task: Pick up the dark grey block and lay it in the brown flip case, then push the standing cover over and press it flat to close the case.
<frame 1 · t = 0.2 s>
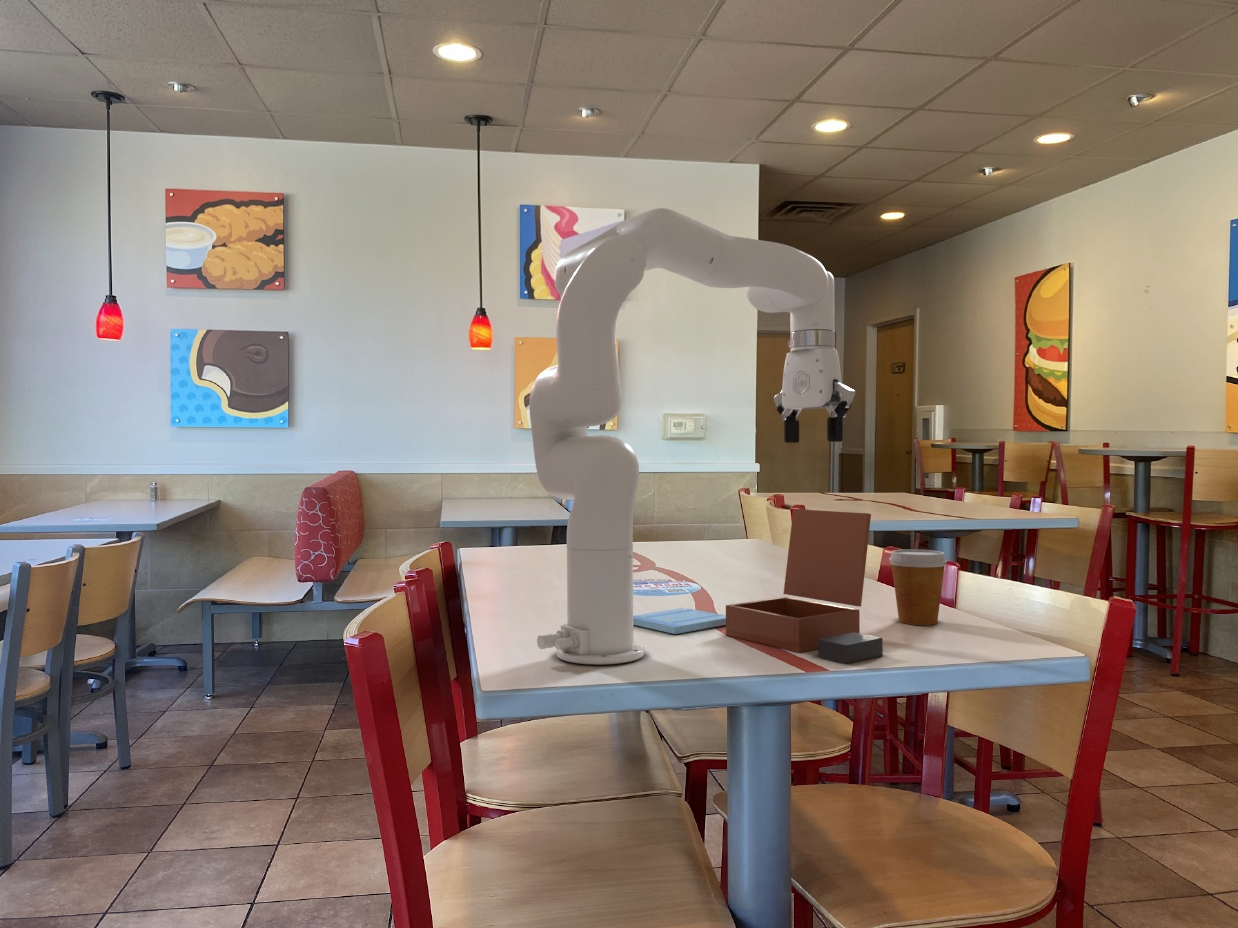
hand: (812, 442, 150), 31 cm above the table, tool pointing down, fingers open, 9 cm apart
flip case: (791, 637, 136), on the table
light blue flat block: (679, 624, 147), on the table
disposable coffee cup: (917, 622, 148), on the table
dark grey block: (850, 656, 122), on the table
cover: (825, 555, 140), point 12 cm above the table, hinge at 100.0°
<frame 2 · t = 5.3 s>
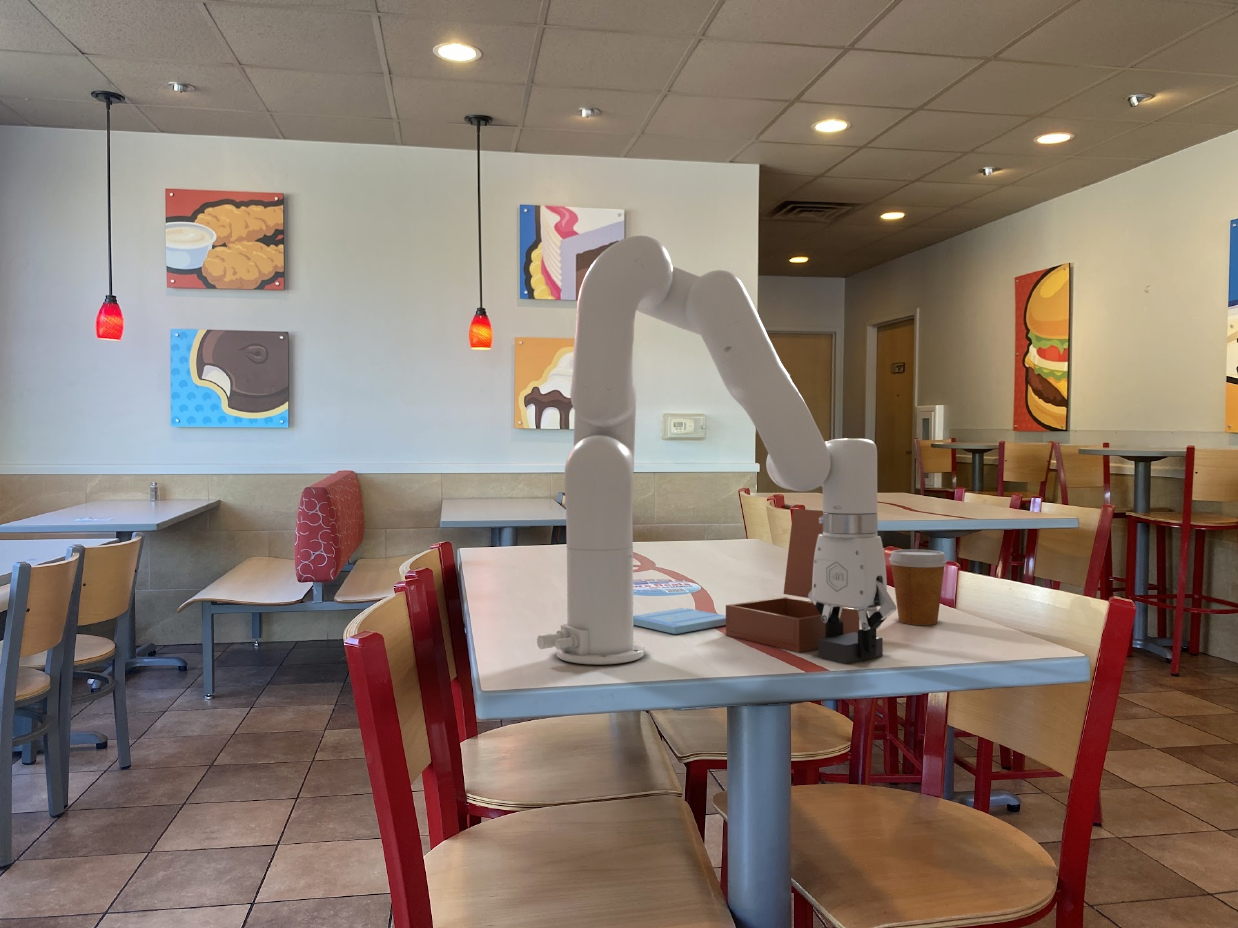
hand: (850, 652, 122), 1 cm above the table, tool pointing down, fingers closed on dark grey block, 5 cm apart
dark grey block: (850, 656, 122), on the table, touching gripper
everything else where it was.
when the fingers open (1 cm above the table, at t = 14.3 s): dark grey block stays where it is, resting on flip case.
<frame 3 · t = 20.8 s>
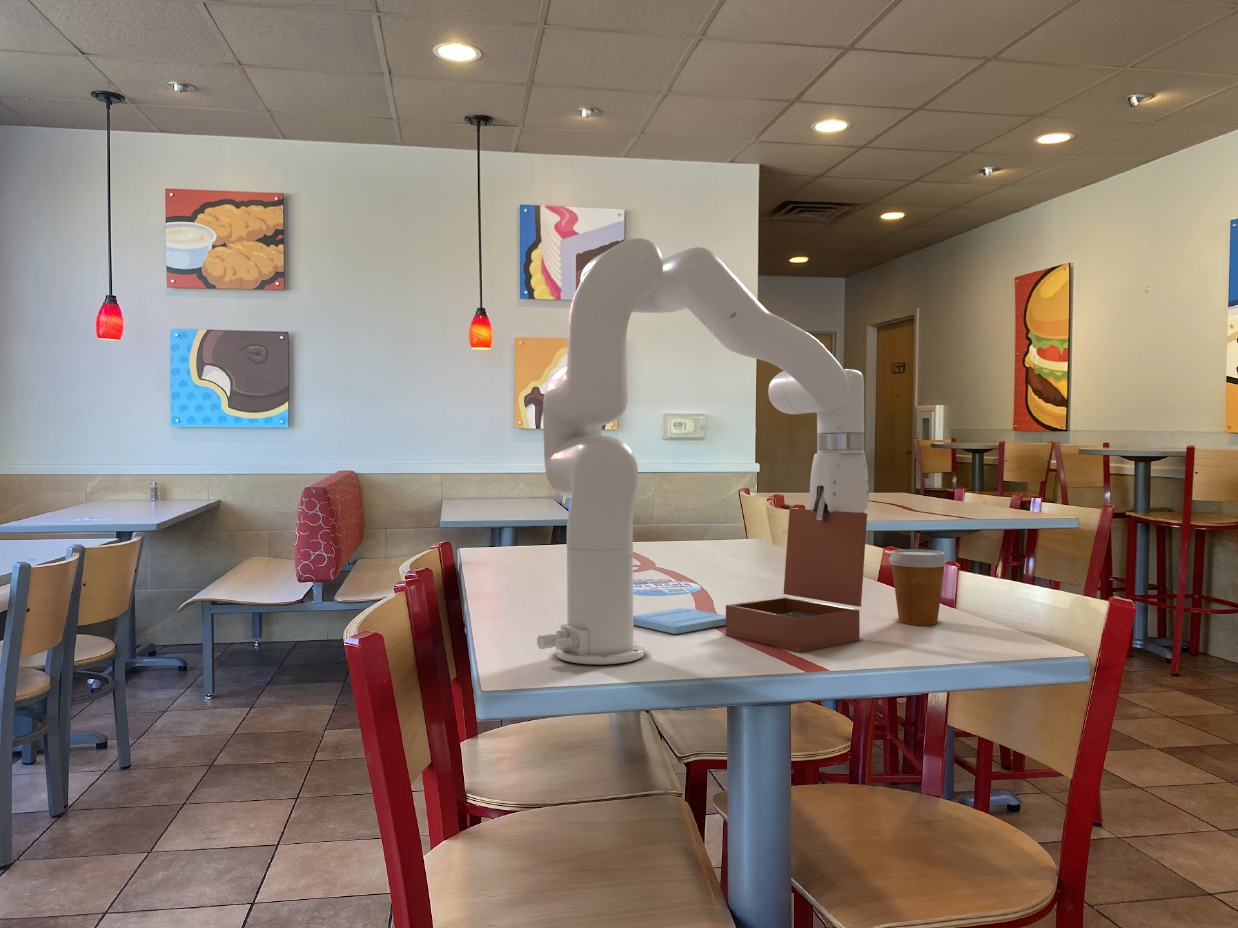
hand: (841, 555, 142), 12 cm above the table, tool pointing down, fingers closed
dark grey block: (792, 632, 136), point 1 cm above the table, touching flip case
cover: (823, 555, 140), point 12 cm above the table, hinge at 96.2°, touching gripper
everything else where it was.
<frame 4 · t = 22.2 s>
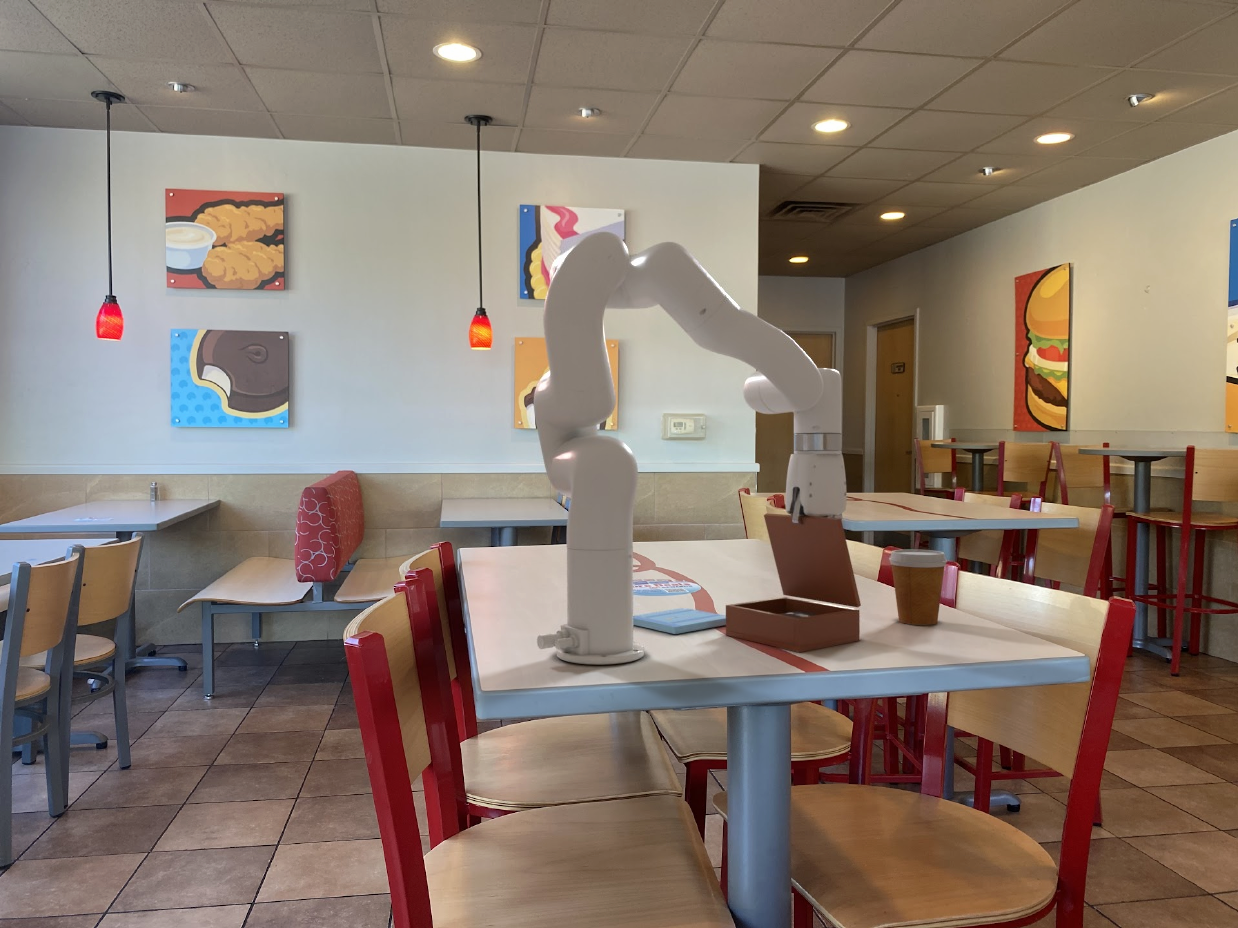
hand: (817, 558, 139), 12 cm above the table, tool pointing down, fingers closed
cover: (810, 558, 138), point 12 cm above the table, hinge at 71.4°, touching gripper
everything else where it was.
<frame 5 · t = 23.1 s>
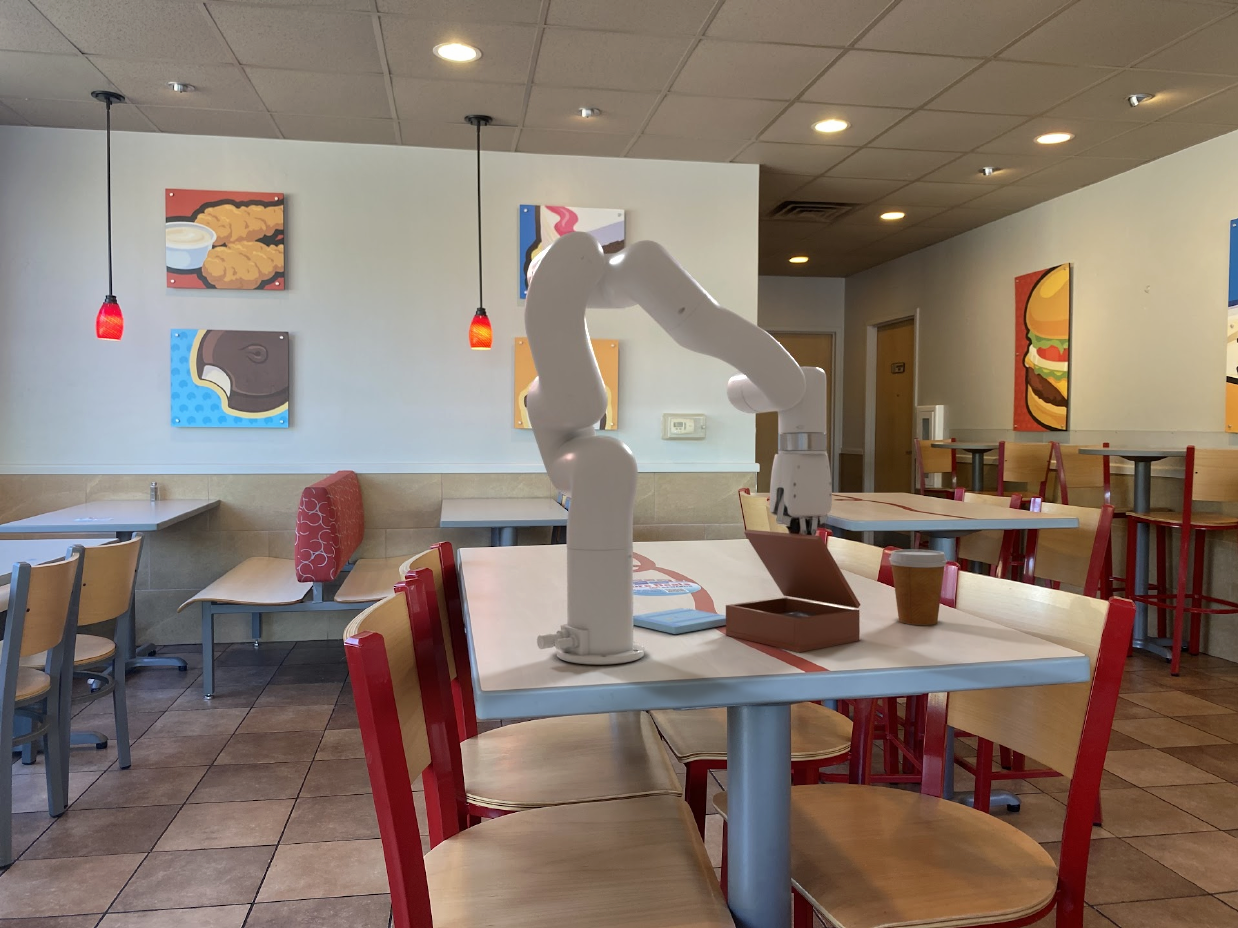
hand: (802, 560, 137), 12 cm above the table, tool pointing down, fingers closed
cover: (800, 567, 137), point 11 cm above the table, hinge at 50.5°, touching gripper
everything else where it was.
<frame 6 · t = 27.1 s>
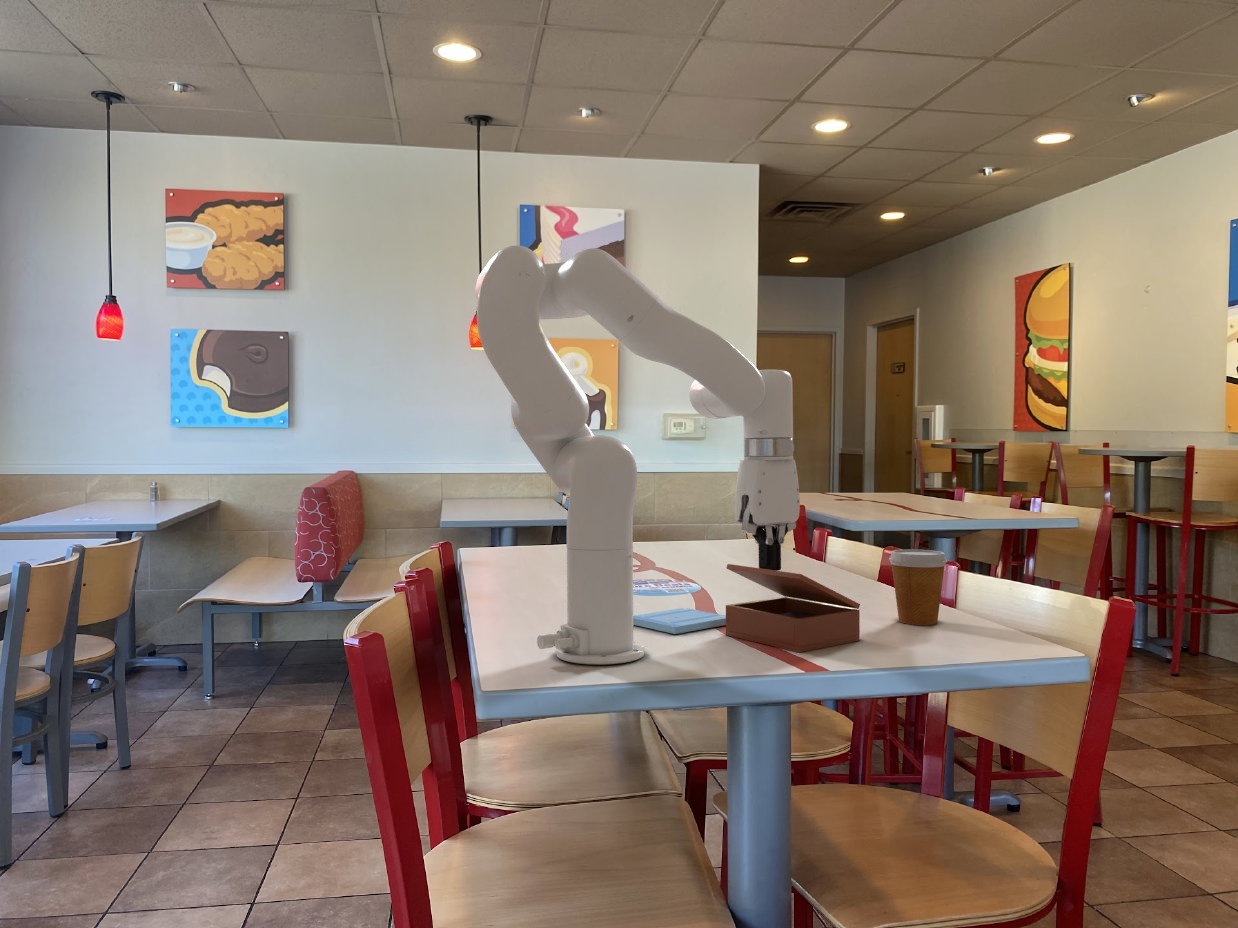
hand: (769, 569, 133), 11 cm above the table, tool pointing down, fingers closed
cover: (791, 585, 136), point 8 cm above the table, hinge at 23.5°, touching gripper
everything else where it was.
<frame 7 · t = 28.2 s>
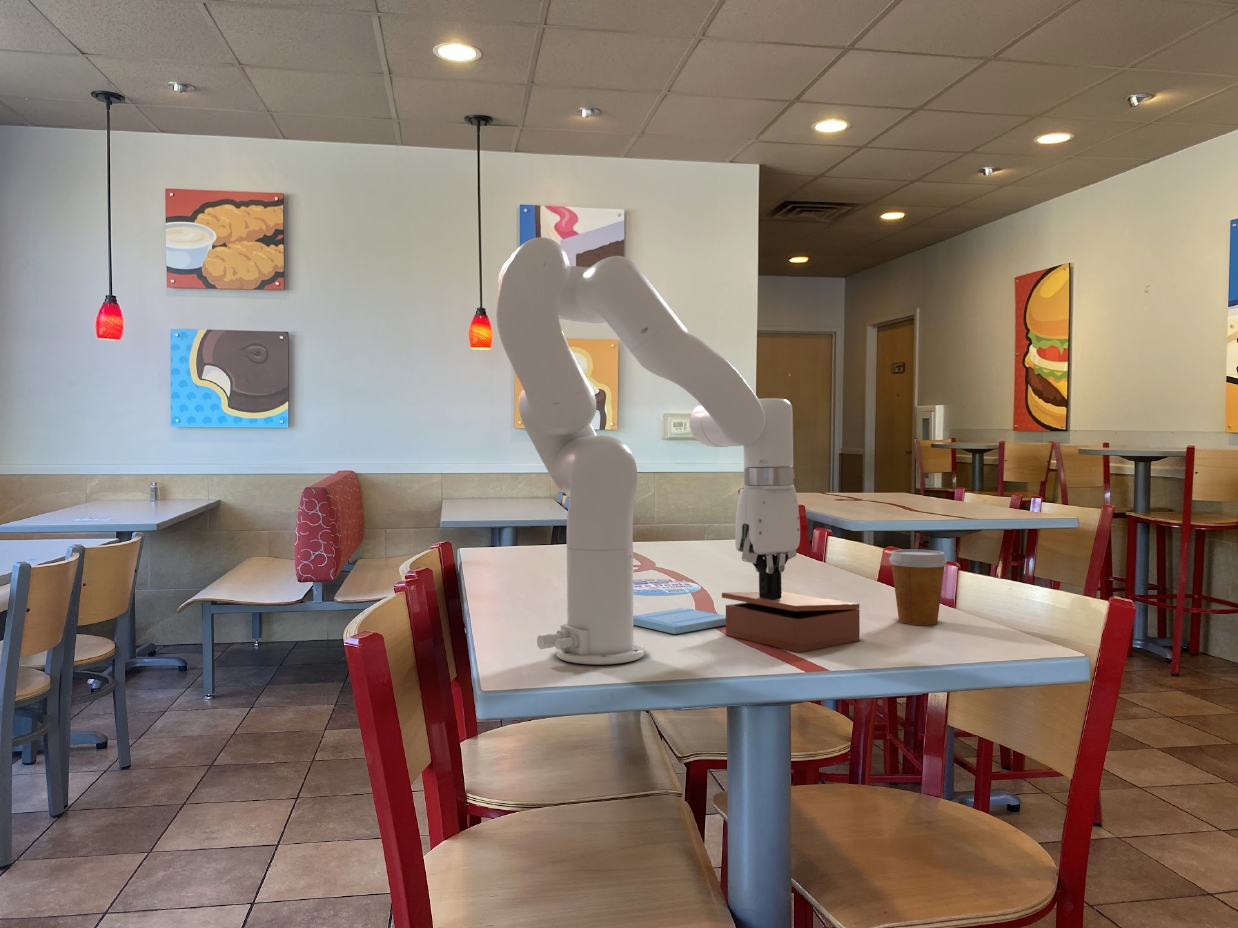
hand: (770, 597, 133), 7 cm above the table, tool pointing down, fingers closed
cover: (789, 600, 135), point 6 cm above the table, hinge at 4.8°, touching gripper
everything else where it was.
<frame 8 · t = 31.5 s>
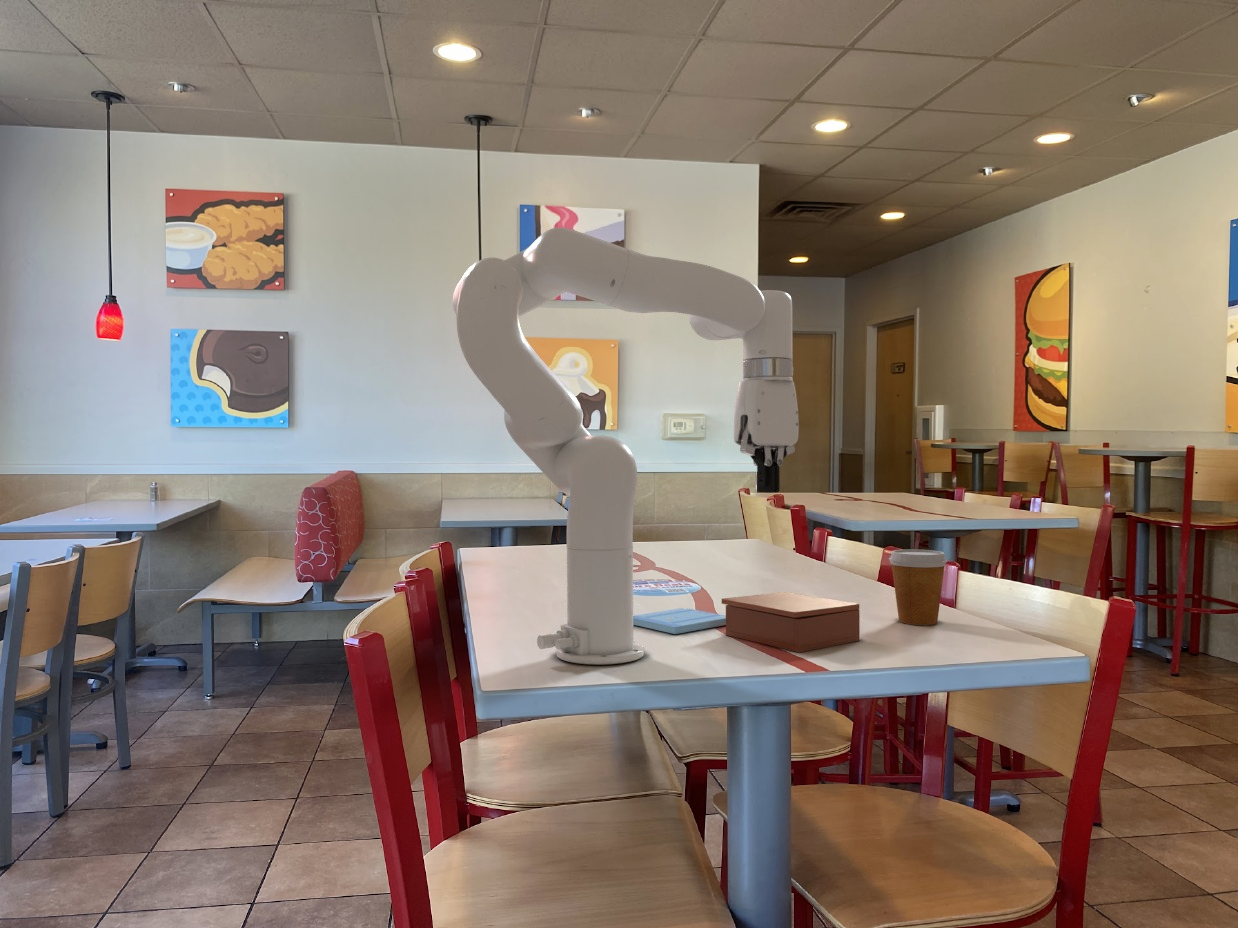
hand: (768, 491, 133), 23 cm above the table, tool pointing down, fingers closed
cover: (789, 603, 135), point 5 cm above the table, hinge at 1.1°
everything else where it was.
at the end: dark grey block inside the target area in the flip case (0.2 cm from its centre), point 0.8 cm above the flip case's base; cover at +1° (first picture: +100°) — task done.
